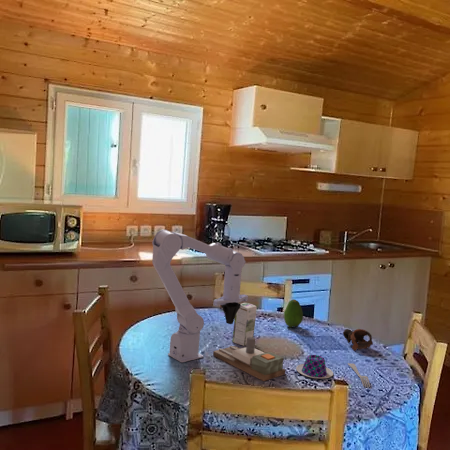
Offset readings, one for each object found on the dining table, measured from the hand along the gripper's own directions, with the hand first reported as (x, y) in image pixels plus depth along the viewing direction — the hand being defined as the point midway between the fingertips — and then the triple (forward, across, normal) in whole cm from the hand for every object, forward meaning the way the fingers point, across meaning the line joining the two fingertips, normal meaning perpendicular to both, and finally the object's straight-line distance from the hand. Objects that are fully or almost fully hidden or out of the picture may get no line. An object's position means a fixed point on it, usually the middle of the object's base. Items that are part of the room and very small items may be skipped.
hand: (229, 323), depth 171 cm
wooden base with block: (+10, -2, -12) cm, 16 cm away
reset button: (+8, -2, -20) cm, 22 cm away
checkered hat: (+11, +14, -28) cm, 33 cm away
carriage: (+8, -1, -12) cm, 15 cm away
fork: (+12, +24, -38) cm, 46 cm away
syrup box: (+11, +12, +4) cm, 16 cm away
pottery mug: (+12, +48, -22) cm, 54 cm away
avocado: (+11, +44, +7) cm, 46 cm away
